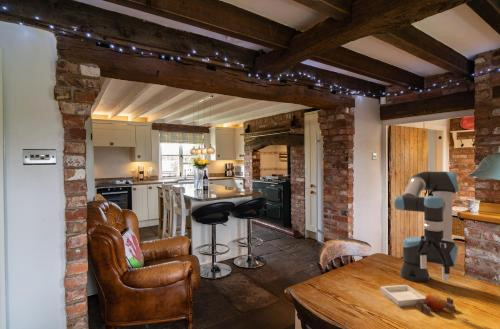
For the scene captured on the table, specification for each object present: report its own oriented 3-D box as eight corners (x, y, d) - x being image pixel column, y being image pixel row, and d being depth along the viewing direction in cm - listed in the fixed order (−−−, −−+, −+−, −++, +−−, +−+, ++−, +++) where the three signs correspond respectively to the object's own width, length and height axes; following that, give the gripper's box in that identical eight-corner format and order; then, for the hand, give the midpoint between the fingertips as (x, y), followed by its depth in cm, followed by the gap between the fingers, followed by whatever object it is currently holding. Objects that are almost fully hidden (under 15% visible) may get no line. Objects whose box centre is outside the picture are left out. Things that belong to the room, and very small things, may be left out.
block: (446, 304, 136) (446, 295, 136) (456, 311, 130) (456, 301, 130) (414, 307, 134) (414, 298, 134) (424, 314, 128) (423, 304, 128)
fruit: (417, 302, 136) (425, 288, 136) (430, 310, 136) (438, 295, 136) (429, 311, 128) (438, 296, 128) (443, 319, 128) (452, 304, 128)
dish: (406, 290, 151) (406, 284, 151) (427, 304, 136) (427, 298, 136) (380, 292, 150) (380, 286, 150) (398, 307, 135) (398, 300, 135)
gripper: (408, 223, 143) (408, 264, 144) (447, 237, 118) (447, 286, 119) (422, 222, 144) (422, 263, 145) (463, 236, 119) (464, 285, 120)
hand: (433, 274), depth 132 cm, fingers open, 13 cm apart
